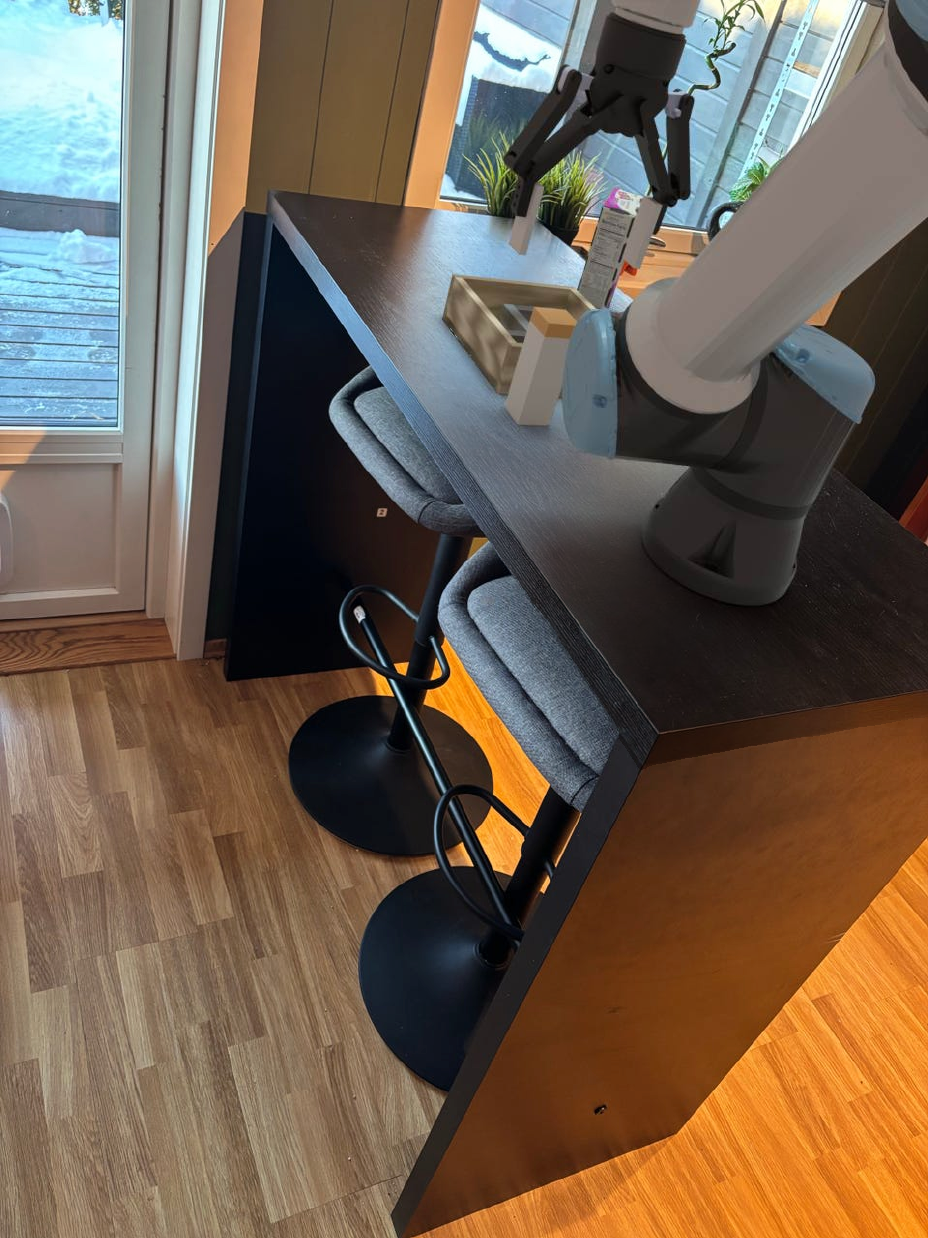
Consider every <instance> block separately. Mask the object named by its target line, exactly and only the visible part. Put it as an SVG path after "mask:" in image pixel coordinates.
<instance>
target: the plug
mask: <svg viewBox="0 0 928 1238" xmlns="http://www.w3.org/2000/svg"><path fill="white" fill-rule="evenodd" d="M576 323H577V321H576V320H575V319H574V318H573V317H572V316H571V315H570V313H569V312H568V311H567V310H562V309H551V308H541V307H534V308H533V311H532V315H531V318H530V322H529V325H528V328H527V332H526V335H525V339H524V342H523V345H522V349H521V352H520V356H519V359H518V362H517V366H516V369H515V373H514V376H513V379H512V383H511V386H510V390H509V393H508V394H507V397H506V401H505V404H504V408H505V410H506V411H507V413H509V415H510V416H511V418H512V419H513V420H514V421H515V423H516V425H518V426H520V425H521V426H540V427H541V426H543V427H544V426H545V427H549V426H550V424H551V421H552V418H553V415H554V412H555V408H556V406H557V403H558V399H559V398H560V397H559V394H560V391H561V388H562V384H563V373H564V366H565V359H566V354H567V349H568V345H569V341H570V338H571V335H572V332H573V330H574V327H575V325H576Z"/></svg>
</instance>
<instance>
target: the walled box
mask: <svg viewBox="0 0 928 1238" xmlns="http://www.w3.org/2000/svg"><path fill="white" fill-rule="evenodd" d="M447 291H448V293H447V297H446V300H445V304H444V308H443V309H444V310H443V311H442V312H443V313H442V317H441V319H442V318H443V319H442V321H443V320H444V321H445V322H446V323H445V322H444V321H443V322H444V323H445V324H447V325H448V326H449V327H450V328H451V329H452V331H453V332H454V334H455V335H456V336H457V338H458V339H459V340H460V342H461V343H462V344H463V346H464V347H465V348H464V347H463V346H462V347H463V348H464V350H465V349H466V350H467V351H466V350H465V351H466V353H467V354H468V353H469V354H470V355H471V356H470V355H469V354H468V355H469V356H470V358H471V357H472V358H471V359H472V360H473V362H474V361H475V362H474V363H475V364H476V365H477V368H479V370H480V371H481V373H482V374H483V375H484V376H485V378H486V379H487V380H488V382H489V383H490V384H491V386H492V387H493V388H494V390H495V391H496V393H497V394H499V395H508V393H509V390H510V386H511V383H512V379H513V376H514V373H515V369H516V366H517V362H518V359H519V356H520V352H521V349H522V345H523V342H524V339H525V335H526V332H527V328H528V325H529V322H530V318H531V315H532V311H533V308H534V307H541V308H551V309H562V310H567V311H568V312H569V313H570V315H571V316H572V317H573V318H574V319H575V320H576V321H577V322H578V320H579V318H580V317H581V316H582V315H583V314H584V313H585V312H586V311H588V310H591V309H596V308H595V307H594V306H593V305H592V304H591V303H590V302H589V301H588V300H587V299H586V298H585V297H584V296H583V295H581V294H580V293H579V292H578V291H577V289H576V287H574V286H568V285H557V284H549V283H542V282H541V283H538V282H529V281H521V280H511V279H502V278H495V277H494V278H492V277H484V276H483V277H482V276H472V275H466V274H465V275H464V274H457V273H456V274H455V273H452V275H451V279H450V283H449V287H448V290H447ZM447 325H446V326H447ZM448 326H447V327H448ZM449 327H448V328H449ZM452 331H451V332H452ZM454 334H453V335H454ZM455 335H454V336H455ZM457 338H456V339H457ZM458 339H457V340H458ZM460 342H459V343H460ZM461 343H460V344H461ZM558 398H562V388H561V391H560V394H559V397H558Z"/></svg>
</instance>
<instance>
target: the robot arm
mask: <svg viewBox="0 0 928 1238" xmlns="http://www.w3.org/2000/svg"><path fill="white" fill-rule="evenodd" d="M859 1H860V2H864V3H866V4H868V5H870V6H872V7H875V8H879V9H883V11H884V12H883V28H884V41H883V42H882V43H881V45H879V47H878V48H877V49H876V50H875V51H874V53H873V54H872V55H871V56H870V57H869V58H868V60H867V61H866V62H865V63H864V64H863V65H862V67H860V69H859V70H858V71H857V72H856V74H854V76H853V77H852V78H851V79H850V80H849V81H848V83H847V84H845V86H844V87H843V88H842V89H841V90H840V92H839V93H838V94H837V95H836V96H835V98H833V100H831V102H830V103H829V104H828V105H827V106H826V107H825V109H824V111H822V112H821V113H820V115H819V116H818V117H817V118H816V120H815V121H814V122H813V123H812V124H811V125H810V126H809V127H808V129H806V131H805V132H804V133H803V134H802V135H801V137H800V138H799V139H798V140H797V141H796V142H795V143H794V145H792V147H791V148H790V149H789V150H788V152H787V153H786V154H785V155H784V156H783V157H782V159H780V160H779V162H778V163H777V164H776V165H775V167H773V169H772V170H771V171H770V172H769V173H768V174H767V176H766V177H765V178H764V179H763V180H762V182H761V183H759V185H758V186H757V188H755V190H754V191H752V193H751V194H750V195H749V196H748V198H746V200H745V201H744V202H743V203H742V204H741V205H740V206H739V208H738V209H737V210H736V211H735V212H734V214H733V215H732V216H731V217H730V218H729V219H728V221H727V222H726V223H725V224H724V225H723V226H722V228H720V230H719V231H718V232H717V233H716V234H715V236H714V237H712V238H711V240H710V241H709V242H708V244H707V245H706V246H705V247H704V248H703V250H701V252H700V253H699V254H698V255H697V256H696V258H695V259H694V260H693V261H692V262H691V263H690V264H689V265H688V267H686V269H685V270H684V271H683V272H682V273H681V275H679V276H673V277H667V278H661V279H658V280H656V281H653V282H652V283H650V284H648V285H647V286H645V287H644V288H643V289H642V290H641V291H640V292H639V293H638V294H637V295H636V296H635V297H634V299H633V300H632V301H631V302H630V304H629V305H628V306H627V307H626V308H625V309H624V311H619V312H618V311H611V310H610V308H609V309H608V308H605V307H604V308H603V309H591V310H588V311H586V312H585V313H584V314H583V315H582V316H581V317H580V318H579V320H578V322H577V323H576V325H575V327H574V330H573V332H572V335H571V338H570V341H569V345H568V349H567V354H566V359H565V366H564V373H563V384H562V397H561V403H562V405H561V408H562V416H563V424H564V428H565V432H566V435H567V437H568V439H569V440H570V441H571V443H572V445H573V446H574V448H576V449H577V450H578V451H579V452H582V453H584V454H589V455H593V456H600V457H604V458H606V459H608V460H609V461H610V460H614V459H616V460H625V461H634V462H643V463H653V464H662V465H663V464H664V465H670V466H671V465H673V466H681V467H682V466H683V467H688V468H687V469H686V470H685V471H684V472H683V474H681V475H680V477H678V479H677V480H676V481H675V482H674V483H673V484H672V486H671V487H670V488H669V489H668V491H667V492H665V494H664V497H662V498H660V499H659V500H657V501H656V502H655V504H654V505H653V506H652V507H651V508H650V511H649V512H648V514H647V517H646V520H645V522H644V524H643V526H642V529H641V534H640V536H641V543H642V545H643V547H644V550H645V552H646V553H647V555H648V556H649V558H650V559H651V560H652V561H653V563H655V564H656V565H657V567H659V569H660V570H662V572H664V573H665V574H667V575H668V576H669V577H670V578H672V579H673V580H674V581H676V582H678V583H679V584H680V585H682V586H684V587H686V588H688V589H690V590H692V591H694V592H695V593H698V594H701V595H702V596H705V597H707V598H710V599H713V600H716V601H719V602H723V603H727V604H732V605H739V606H749V607H750V606H763V605H768V604H771V603H774V602H776V601H778V600H779V599H780V598H781V597H783V596H784V595H785V593H786V591H787V589H788V587H789V586H790V584H791V582H792V580H793V579H794V577H795V575H796V571H797V565H798V559H797V553H798V549H799V546H800V542H801V539H802V534H803V529H804V523H805V522H804V521H805V519H806V516H807V515H808V513H809V510H810V509H811V507H812V505H813V503H814V501H815V500H816V498H817V496H818V495H819V493H820V491H821V489H822V488H823V485H824V484H825V483H826V480H827V478H828V476H829V474H830V473H831V471H832V469H834V466H835V464H836V463H837V461H838V459H839V457H840V455H841V454H842V452H843V451H844V448H845V446H846V445H847V444H848V442H849V440H850V438H851V437H852V434H853V433H854V431H855V429H856V427H857V426H858V424H861V422H862V420H863V417H862V415H863V413H864V411H865V409H866V407H867V405H868V403H869V401H870V398H871V397H872V395H873V392H874V390H875V386H876V379H875V375H874V372H873V370H872V368H871V367H870V365H869V364H868V363H867V361H866V360H864V358H862V356H861V355H859V354H858V353H857V352H855V351H854V350H853V349H852V348H851V347H849V346H848V345H847V344H845V343H843V342H842V341H840V340H838V339H837V338H835V337H833V336H831V335H830V334H828V333H826V332H824V331H823V330H821V329H819V328H818V327H815V326H813V325H810V324H809V323H806V322H808V321H809V320H810V319H811V318H812V317H813V316H814V315H815V314H817V313H818V312H819V311H820V310H821V309H822V308H823V307H825V306H826V305H827V304H828V303H830V301H832V300H833V299H834V298H835V297H837V296H838V295H839V294H840V293H841V292H842V291H844V290H845V289H846V288H847V287H848V286H849V285H850V284H851V283H853V282H854V281H855V280H856V279H857V278H858V277H860V275H862V274H863V273H865V271H866V270H868V269H869V268H870V267H872V265H873V264H875V263H876V262H877V261H878V260H880V259H881V258H882V257H883V256H884V255H885V254H886V253H888V252H889V251H890V250H892V248H894V246H895V245H897V244H898V243H899V242H900V241H902V240H903V239H904V238H905V237H907V235H909V233H911V232H912V231H913V230H914V229H916V227H918V226H919V225H920V224H921V223H922V222H923V221H925V220H926V219H927V218H928V0H859ZM610 2H611V4H612V5H613V6H614V7H615V11H614V12H613V11H611V12H609V13H608V15H606V16H605V20H604V24H603V27H602V29H601V34H600V37H599V39H598V44H597V47H596V51H595V62H594V65H593V68H592V69H591V71H590V72H589V73H588V74H587V73H584V72H581V71H579V70H577V69H576V68H575V67H572V66H571V65H569V64H566V63H564V64H563V65H561V66H560V68H559V69H558V72H557V75H556V78H555V80H554V82H553V83H554V84H553V86H552V89H551V91H549V93H548V94H547V96H545V98H544V99H543V101H542V103H541V104H540V106H539V107H538V108H537V109H536V111H535V112H534V113H533V115H532V116H531V117H530V120H529V121H528V122H527V124H526V125H525V126H524V128H523V129H522V131H521V132H520V133H519V135H518V136H517V137H516V139H515V140H514V142H513V143H512V145H511V146H510V147H509V149H508V150H507V151H506V152H505V154H504V156H503V159H502V161H503V165H505V166H506V167H507V168H508V169H509V170H510V171H512V172H513V173H514V174H516V175H517V182H516V186H515V189H514V193H513V197H512V200H511V205H510V209H511V212H512V213H513V214H514V215H515V218H514V222H513V225H512V228H511V234H510V238H509V239H508V245H509V246H510V247H511V248H512V250H514V251H515V252H516V253H517V254H518V255H521V256H527V252H528V249H529V245H530V241H531V237H532V233H533V230H534V227H535V223H536V220H537V216H538V212H539V210H540V209H539V208H540V205H541V201H542V197H543V194H544V190H545V186H544V185H542V183H540V182H539V181H541V180H542V179H543V178H544V177H545V175H547V174H548V173H549V172H551V170H552V169H554V168H555V167H556V166H557V165H558V164H560V163H561V161H563V160H564V159H565V158H566V157H567V156H568V155H569V154H570V153H572V151H573V150H575V149H576V148H577V147H579V145H580V144H582V143H583V142H584V141H585V140H586V139H587V138H589V137H590V136H594V135H596V134H597V133H598V132H599V131H602V132H603V133H604V134H609V135H615V134H621V135H622V136H624V137H626V138H630V139H631V138H632V139H633V138H634V139H635V142H636V145H637V148H638V149H637V150H638V151H639V155H640V158H641V161H642V165H643V169H644V172H645V175H646V179H647V181H648V184H649V185H648V186H649V189H650V192H651V194H652V197H651V196H650V195H645V194H643V196H642V197H643V198H642V201H641V204H640V207H639V210H638V213H637V216H636V219H635V221H634V224H633V227H632V230H631V233H630V236H629V239H628V242H627V245H626V248H625V251H624V254H623V257H622V258H623V259H624V260H625V261H624V262H626V263H627V264H628V265H629V266H631V268H633V269H638V270H640V269H641V267H642V264H643V261H644V259H645V256H646V253H647V250H648V247H649V245H650V242H651V240H652V239H651V238H652V236H657V235H658V233H659V232H660V230H661V227H662V224H663V221H664V219H665V216H666V213H667V210H668V208H669V209H671V208H675V206H676V205H677V203H678V201H679V200H682V201H686V200H688V199H689V198H690V196H691V193H692V187H691V185H692V182H691V179H692V178H691V141H690V140H691V139H690V137H691V134H690V133H691V132H690V128H691V127H690V122H691V117H692V114H693V110H694V107H695V102H696V101H695V98H694V96H693V95H691V94H690V93H688V92H686V91H684V90H682V89H680V88H676V89H674V90H672V91H669V86H670V83H671V80H673V79H674V78H675V76H676V74H677V71H678V68H679V66H680V62H681V59H682V57H683V53H684V50H685V46H686V44H687V39H686V38H687V36H686V35H685V34H684V29H689V28H690V27H692V26H693V25H694V22H695V19H696V15H697V13H698V9H699V6H700V3H701V0H610ZM583 92H584V94H585V97H586V100H585V101H584V102H583V103H582V104H581V105H579V107H578V108H577V109H576V110H574V111H573V112H572V114H571V118H569V119H568V121H566V122H565V123H564V124H563V125H562V126H561V127H560V128H559V129H557V130H556V131H555V132H554V130H555V129H556V127H557V126H558V125H559V123H560V122H561V121H562V119H563V118H564V116H565V115H566V114H567V113H568V111H569V109H570V108H571V107H572V105H573V103H574V101H575V99H577V98H579V97H581V96H582V93H583ZM663 110H664V114H665V115H666V116H665V133H666V134H665V135H666V157H667V161H666V162H667V166H666V163H665V159H664V155H663V153H662V149H661V145H660V142H659V139H660V134H659V130H658V127H657V122H656V120H655V119H656V117H657V116H658V115H659V114H661V113H662V111H663ZM552 133H553V134H552ZM551 134H552V135H551Z"/></svg>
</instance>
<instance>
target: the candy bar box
mask: <svg viewBox="0 0 928 1238" xmlns="http://www.w3.org/2000/svg"><path fill="white" fill-rule="evenodd" d="M642 198H643V196H641V195H639V194H637V193H634V192H632V191H631V192H630V191H627V190H624V189H622V188H617V187H614V188H613V189H612V190H611V193H610V194H609V196H608V197H607V198H606V200H605V201H604V203H603V204H602V207H601V209H600V210H601V211H600V213H599V217H598V220H597V223H596V227H595V229H594V232H593V236H592V239H591V243H590V247H589V249H588V252H587V256H586V259H585V263H584V265H583V266H584V267H583V268H582V269H583V270H582V272H581V276H580V279H579V283H578V285H577V289H576V290H577V291H578V292H579V293H580V294H581V295H583V296H584V297H585V298H586V299H587V300H588V301H589V302H590V303H591V304H592V305H593V306H594V307H595V308H596V309H603V308H604V307H605V308H608V309H610V307H611V303H612V300H613V297H614V294H615V291H616V287H617V284H618V281H619V279H620V275H621V273H622V269H623V267H624V264H625V262H626V261H625V260H624V259H623V258H622V257H623V254H624V251H625V248H626V245H627V242H628V239H629V236H630V233H631V230H632V227H633V224H634V221H635V219H636V216H637V213H638V210H639V207H640V204H641V201H642Z"/></svg>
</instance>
